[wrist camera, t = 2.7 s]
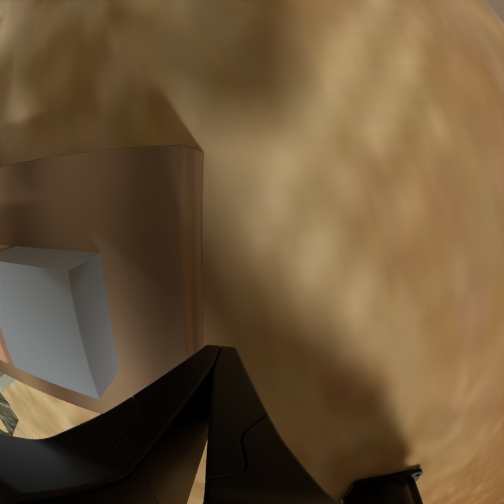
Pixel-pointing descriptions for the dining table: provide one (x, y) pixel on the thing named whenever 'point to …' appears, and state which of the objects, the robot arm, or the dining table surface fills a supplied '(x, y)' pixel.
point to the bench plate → (120, 250)
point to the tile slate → (58, 317)
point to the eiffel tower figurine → (7, 416)
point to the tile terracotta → (3, 354)
